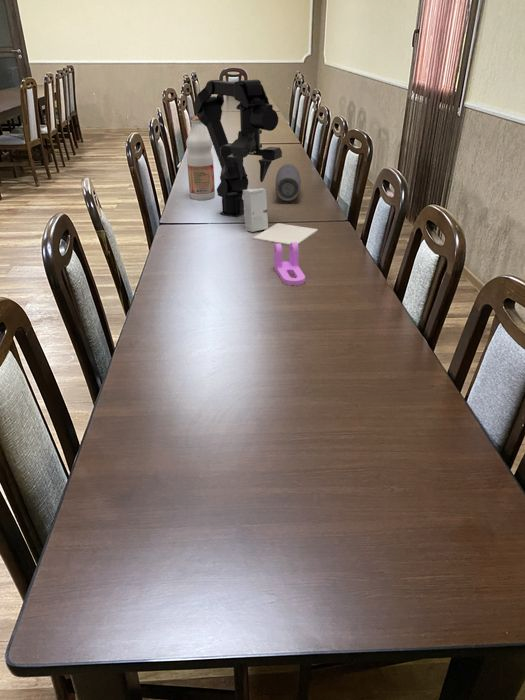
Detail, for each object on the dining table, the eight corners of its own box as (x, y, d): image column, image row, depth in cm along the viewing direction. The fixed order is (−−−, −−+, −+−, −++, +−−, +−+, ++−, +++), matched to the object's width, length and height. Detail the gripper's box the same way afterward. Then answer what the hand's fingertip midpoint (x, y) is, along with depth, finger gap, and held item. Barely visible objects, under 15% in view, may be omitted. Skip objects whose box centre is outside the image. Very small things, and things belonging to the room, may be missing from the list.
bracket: (273, 267, 140) (273, 241, 136) (294, 265, 141) (295, 240, 137) (285, 287, 129) (285, 259, 125) (307, 285, 130) (308, 258, 126)
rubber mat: (252, 238, 159) (252, 237, 159) (277, 224, 171) (277, 223, 171) (295, 246, 153) (295, 244, 153) (317, 230, 165) (317, 229, 165)
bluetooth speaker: (301, 204, 191) (301, 175, 186) (274, 204, 192) (274, 175, 186) (299, 188, 211) (300, 162, 206) (276, 188, 211) (276, 162, 206)
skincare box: (252, 232, 163) (249, 191, 158) (244, 230, 167) (241, 189, 161) (269, 228, 166) (266, 188, 161) (261, 226, 169) (258, 187, 164)
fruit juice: (184, 197, 201) (178, 116, 187) (204, 192, 206) (199, 113, 192) (200, 202, 195) (194, 118, 181) (220, 197, 200) (216, 116, 186)
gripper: (209, 128, 157) (212, 183, 165) (265, 132, 150) (265, 189, 158) (228, 123, 166) (230, 175, 174) (282, 127, 158) (282, 181, 166)
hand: (251, 180), depth 167 cm, fingers open, 7 cm apart
